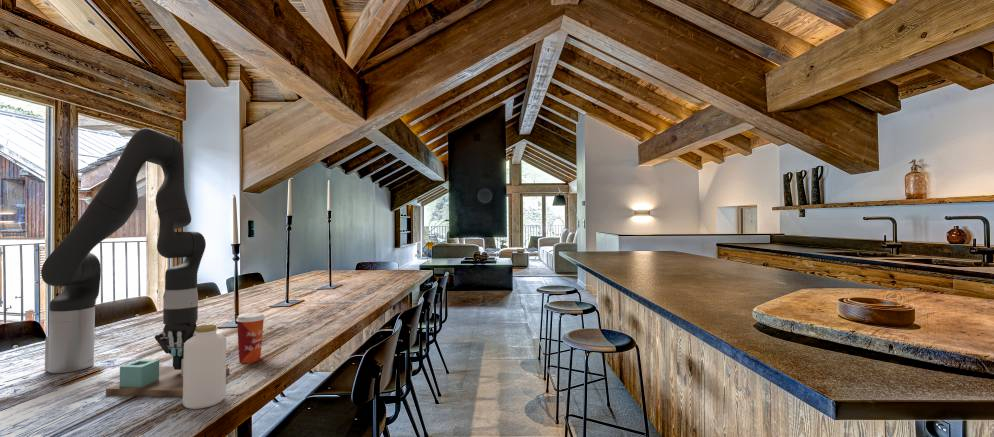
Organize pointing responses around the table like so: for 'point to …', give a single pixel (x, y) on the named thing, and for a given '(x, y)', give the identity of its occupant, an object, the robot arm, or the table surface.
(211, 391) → the white plastic bottle
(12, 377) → the table surface
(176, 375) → the pin base
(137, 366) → the teal boxy piece
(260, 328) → the paper cup
